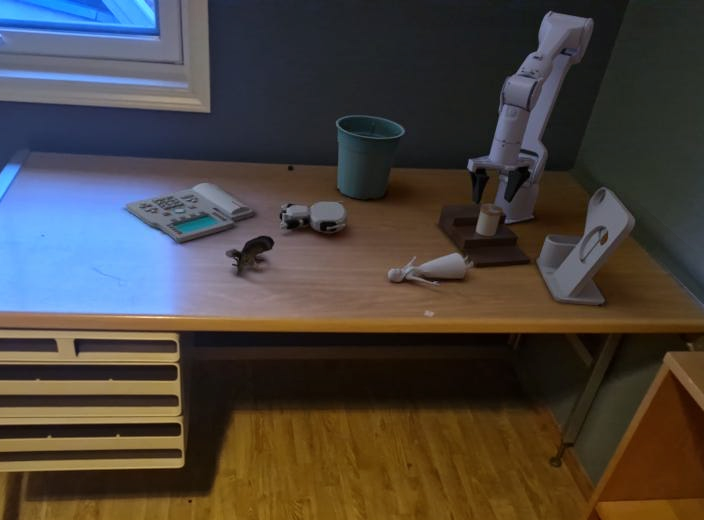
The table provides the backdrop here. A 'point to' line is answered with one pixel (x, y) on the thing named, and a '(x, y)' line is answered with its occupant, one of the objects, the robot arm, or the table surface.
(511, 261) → the step shelf
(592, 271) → the phone holder
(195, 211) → the office telephone
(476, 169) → the robot arm
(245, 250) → the brown animal figurine
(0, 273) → the table surface
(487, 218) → the jar
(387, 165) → the flower pot
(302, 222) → the robot toy
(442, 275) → the woman figurine
